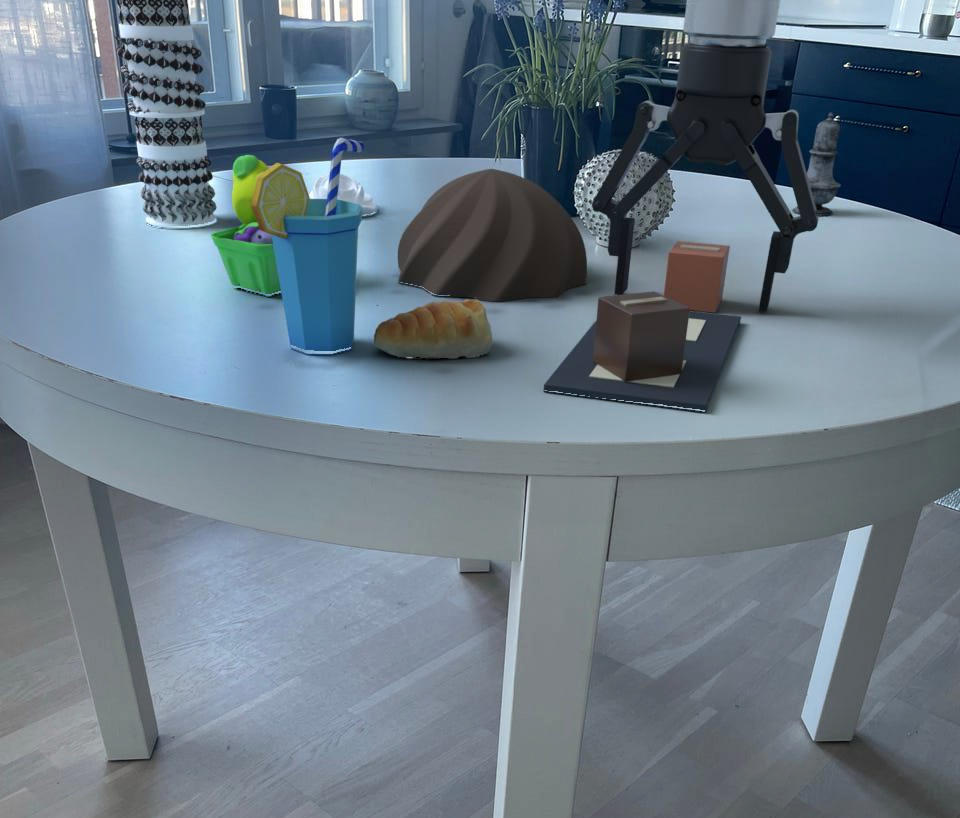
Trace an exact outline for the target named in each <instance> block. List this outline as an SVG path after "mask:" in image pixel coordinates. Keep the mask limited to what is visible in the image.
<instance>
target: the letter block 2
mask: <svg viewBox="0 0 960 818" xmlns="http://www.w3.org/2000/svg"><path fill="white" fill-rule="evenodd" d="M730 249H731V246H730V245H727V244H726V245H725V244H715V243H704V242H694V241H693V242H692V241H681V240H677V241H676V242H675V243H674V245H673V246H672V248H671V249H670V250H669V251H668V256H667V265H666V272H665V280H664V289H663V296H665V297H667V298H669V299H672V300H674V301H676V302H678V303H680V304H682V305H684V306H686V307H689V308H690V311H693V312H703V313H712V314H717V310H718V308H719V306H720V304H721V302H722V300H723V296H724V295H723V294H724V288H725V282H726V275H727V268H728V261H729V255H730Z"/></svg>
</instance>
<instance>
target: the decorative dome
mask: <svg viewBox="0 0 960 818" xmlns="http://www.w3.org/2000/svg"><path fill="white" fill-rule="evenodd" d="M587 258H588V257H587V251H586V245H585V243H584V239H583V237H582V234H581V232H580V230H579V228H578V226H577V224H576V223H575V221H574V220H573V218H572V216H571V215H570V214H569V213H568V211H567V209H565V208H564V207H563V206H562V204H561V203H560V202H559V201H557V199H555V197H554V196H552V195H551V194H550V193H549V192H548V191H547V190H546V189H544V188H543V187H541V186H540V185H538V184H536V183H535V182H534V181H531V180H529V179H528V178H525V177H523V176H520V175H517V174H515V173H511V172H509V171H504V170H500V169H495V168H487V169H481V170H478V171H474V172H471V173H467V174H464V175H462V176H459V177H457V178H454V179H453V180H451V181H448V182H447V183H446V184H444V185H442V186H441V187H440V188H438V189H437V190H436V191H435V192H434V193H433V194H432V195H431V196H430V197H429V198H428V199H427V200H426V202H425V203H424V205H423V206H422V208H421V210H420V211H419V212H418V213H417V214H416V215H415V216H414V217H413V218H412V220H410V223H409V224H408V225H407V227H405V229H404V231H403V233H402V234H401V236H400V239H399V242H398V247H397V266H398V269H399V268H400V269H401V270H402V271H401V270H400V269H399V270H400V274H399V277H398V279H397V283H398V284H401V285H405V286H410V287H415V288H419V289H422V290H424V291H425V292H427V293H428V294H430V295H432V296H434V297H438V296H437V295H450V296H442V297H443V298H444V297H449V298H471V299H478V300H481V301H482V300H483V301H488V302H494V303H495V302H496V303H498V302H500V303H501V302H506V301H512V300H517V299H518V300H519V299H522V298H523V299H524V298H556V297H559V296H561V294H563V292H564V291H565V290H567V289H571V288H575V287H580V286H585V285H586V284H587V278H588V277H587V275H588V259H587ZM398 281H399V282H398ZM400 282H403V283H400ZM404 283H408V284H404ZM409 284H413V285H409ZM414 285H417V286H414ZM418 286H422V287H424V288H425V289H427V290H428V291H430V292H432V293H434V294H437V295H433V294H431V293H430V292H428V291H427V290H425V289H424V288H422V287H418ZM475 297H476V298H475Z"/></svg>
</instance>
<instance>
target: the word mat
mask: <svg viewBox="0 0 960 818" xmlns="http://www.w3.org/2000/svg"><path fill="white" fill-rule="evenodd" d="M741 320H742V316H740V315H730V314H722V313H712V312H703V311H693V310H690V313H689V320H688V328H687V335H686V343H685V350H684V358H683V365H682V373H681V374H677V375H670V376H662V377H655V378H648V379H640V380H633V381H624V380H622V379H620V378H619V377H617V376H616V375H614V374H612V373H611V372H609V371H608V370H606V369H604V368H603V367H601V366H599V365H598V364H596V363H595V362H593V356H594V344H595V332H596V320H595V321H594V322H593V324H592V325H591V326H590V327H589V329H588V330H587V331H586V332H585V334H583V336H582V337H581V338H580V339H579V341H577V343H576V345H575V346H574V347H573V348H572V349H571V350H570V352H569V353H568V355H567V356H566V357H565V358H564V359H563V360H562V362H561V363H560V364H559V366H558V367H557V368H556V369H555V370H554V371H553V373H552V374H550V375H551V376H550V377H549V378H548V379H547V380H546V381H545V383H544V384H543V392H544V393H550V394H557V395H565V396H571V397H572V396H573V397H579V398H588V399H596V400H604V401H609V402H610V401H611V402H617V403H618V402H619V403H625V404H632V405H633V404H634V405H640V406H641V405H642V406H649V407H657V408H666V409H672V410H681V411H688V412H695V413H702V414H703V413H704V414H705V413H706V412H702V411H695V410H687V409H679V408H672V407H664V406H656V405H648V404H641V403H633V402H643V403H653V404H663V405H667V406H677V407H683V408H692V409H700V410H706V411H707V410H708V407H709V404H710V402H711V399H712V396H713V394H714V392H715V389H716V386H717V384H718V381H719V378H720V376H721V373H722V371H723V368H724V365H725V363H726V360H727V357H728V355H729V353H730V350H731V347H732V345H733V343H734V340H735V337H736V334H737V332H738V329H739V327H740V325H741ZM716 383H717V384H716ZM715 385H716V386H715ZM714 388H715V389H714ZM544 390H547V391H544ZM548 391H558V392H563V393H556V392H548ZM564 393H571V394H577V395H571V394H564ZM712 393H713V394H712ZM579 395H585V396H579ZM587 396H590V397H587ZM594 397H598V398H594ZM602 398H606V399H602ZM710 398H711V399H710ZM610 399H616V400H610ZM618 400H624V401H618ZM625 401H633V402H625ZM709 401H710V402H709ZM708 403H709V404H708ZM707 406H708V407H707ZM706 408H707V409H706Z"/></svg>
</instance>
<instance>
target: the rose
mask: <svg viewBox="0 0 960 818" xmlns="http://www.w3.org/2000/svg"><path fill="white" fill-rule="evenodd" d="M329 175H330V174H326V175H322V176H320V177H318V178H317V179H316V181H315V182H314V184H313V187H312V190H311V191H310V192H309V193H308V194H309V197H310V199H327V194H328V184H329ZM337 199H338V200H342V201H347V202H351V203H355V204H359V205H361V206H362V215H364V214H371V213H373V212H376V211H377V212H378V209H379V205H378V204H377V203H376V202H373V195H371V194H369V193H367V192H365V190H364V187H363V185H362V184H361V183H360V182H359V181H358V180H357V179H356V178H354V177H353V178H352V177H351V176H348V175H346V174H343V173H340V178H339V187H338V196H337ZM377 212H376V213H374V214H372V215H368V216H362V218H365V217H370V216H373V215H375V214H377Z"/></svg>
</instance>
